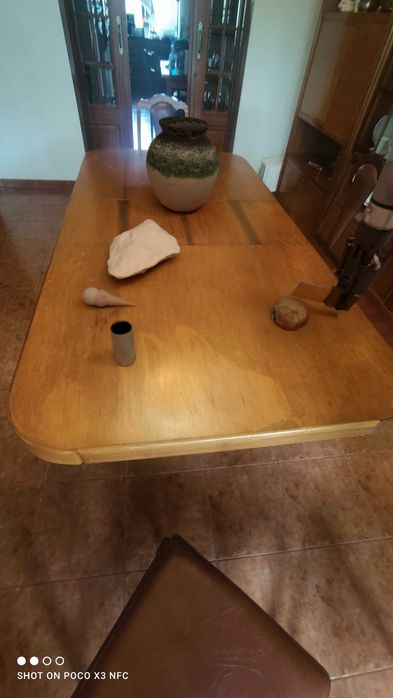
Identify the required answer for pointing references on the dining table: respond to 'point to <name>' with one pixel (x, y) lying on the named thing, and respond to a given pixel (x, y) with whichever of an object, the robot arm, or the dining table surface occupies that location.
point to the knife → (321, 294)
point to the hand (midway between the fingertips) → (337, 305)
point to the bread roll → (290, 314)
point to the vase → (182, 163)
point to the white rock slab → (140, 249)
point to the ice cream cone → (103, 298)
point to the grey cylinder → (123, 343)
